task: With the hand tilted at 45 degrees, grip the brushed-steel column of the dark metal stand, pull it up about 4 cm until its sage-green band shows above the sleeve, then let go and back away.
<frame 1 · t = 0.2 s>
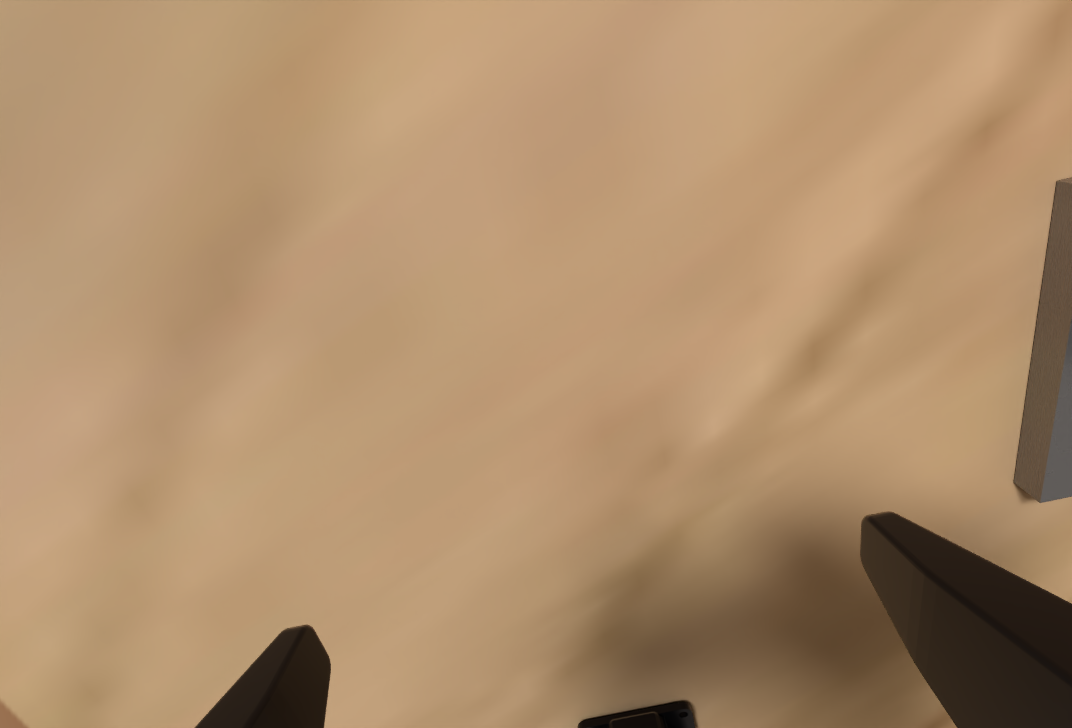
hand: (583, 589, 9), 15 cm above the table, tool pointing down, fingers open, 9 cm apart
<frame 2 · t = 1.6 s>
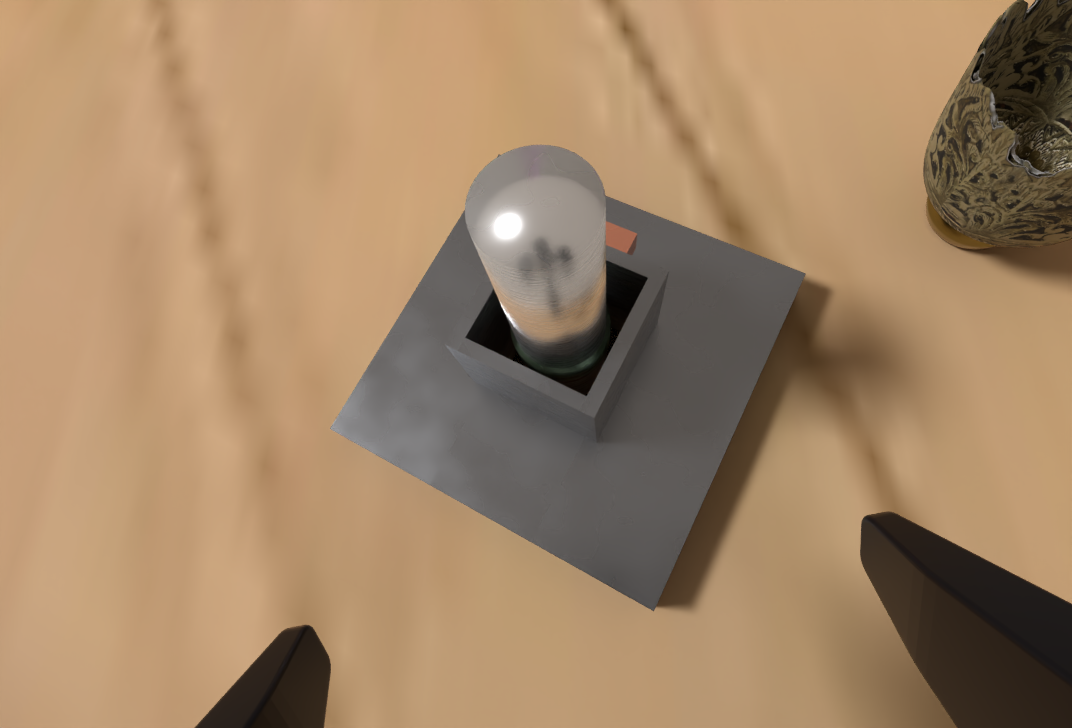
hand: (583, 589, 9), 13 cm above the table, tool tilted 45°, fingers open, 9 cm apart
cup: (962, 219, 25), on the table
stand: (568, 363, 25), on the table
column: (556, 305, 19), point 6 cm above the table, slide at 0.0 cm
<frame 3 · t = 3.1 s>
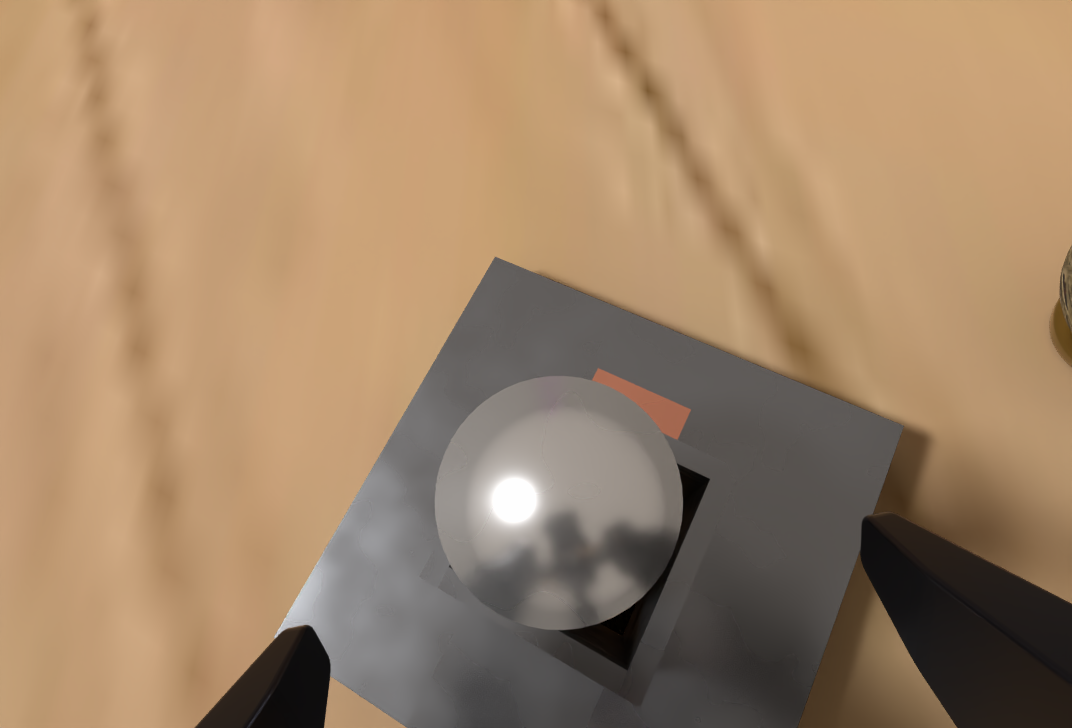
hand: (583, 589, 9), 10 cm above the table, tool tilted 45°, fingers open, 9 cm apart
stand: (588, 534, 19), on the table
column: (578, 522, 13), point 6 cm above the table, slide at 0.0 cm
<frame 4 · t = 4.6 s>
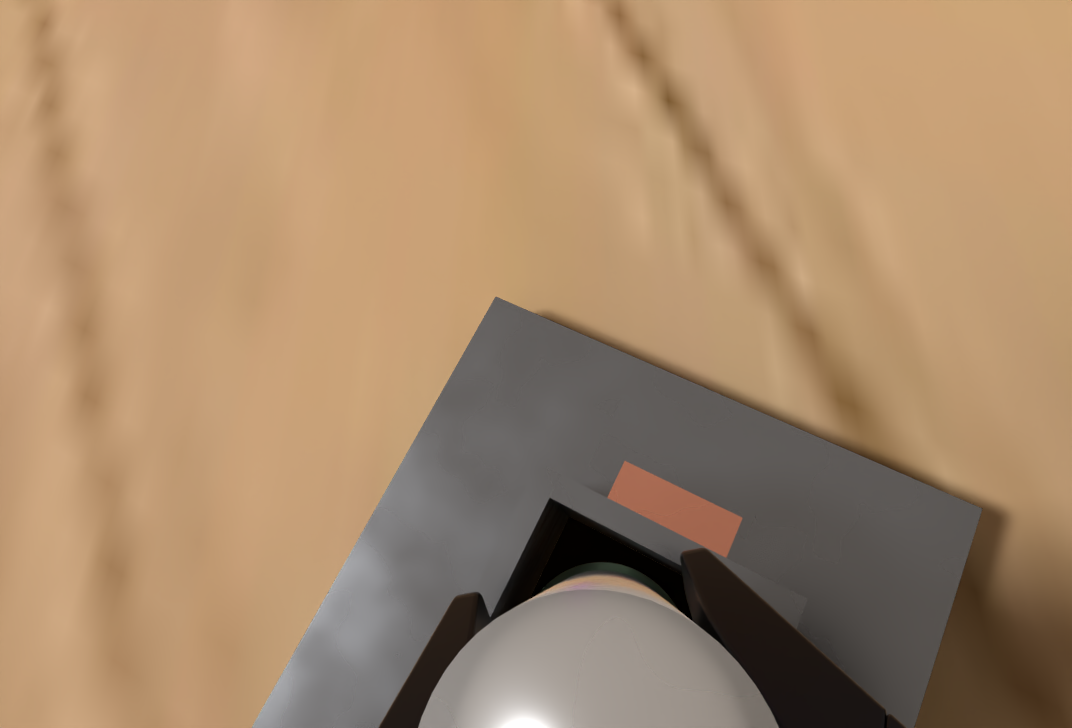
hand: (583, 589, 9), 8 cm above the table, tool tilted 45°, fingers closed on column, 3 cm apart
stand: (605, 627, 16), on the table
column: (603, 668, 10), point 6 cm above the table, slide at 0.0 cm, touching gripper
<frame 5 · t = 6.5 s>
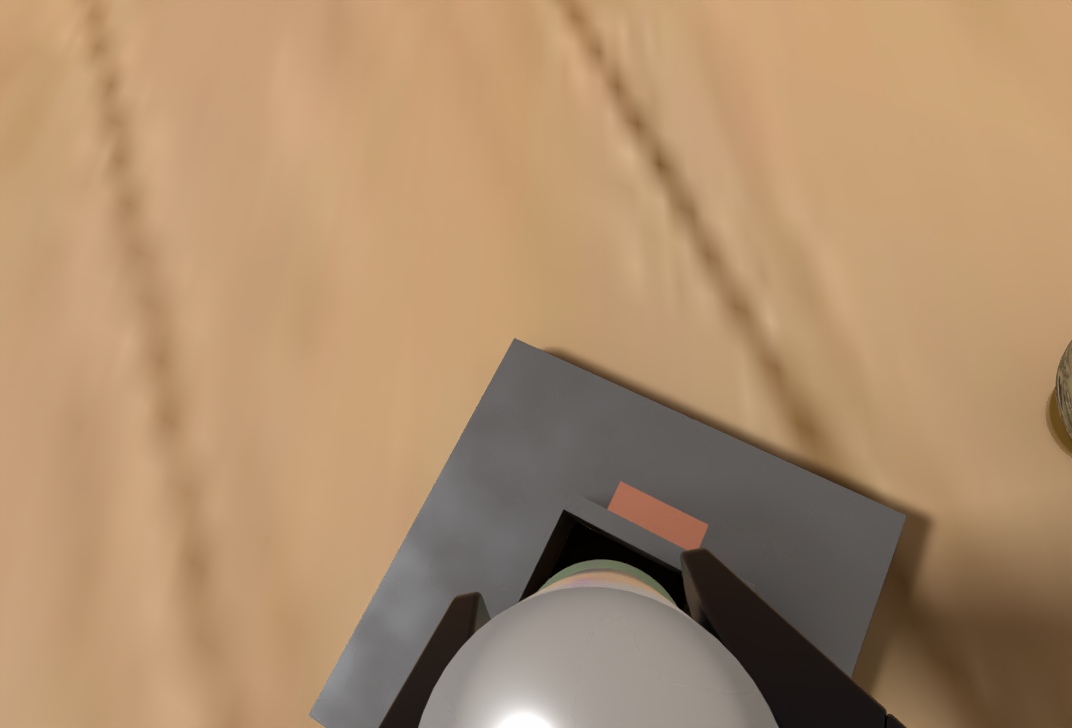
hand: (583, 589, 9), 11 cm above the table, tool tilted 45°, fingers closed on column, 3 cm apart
stand: (605, 611, 20), on the table
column: (602, 665, 10), point 10 cm above the table, slide at 3.8 cm, touching gripper
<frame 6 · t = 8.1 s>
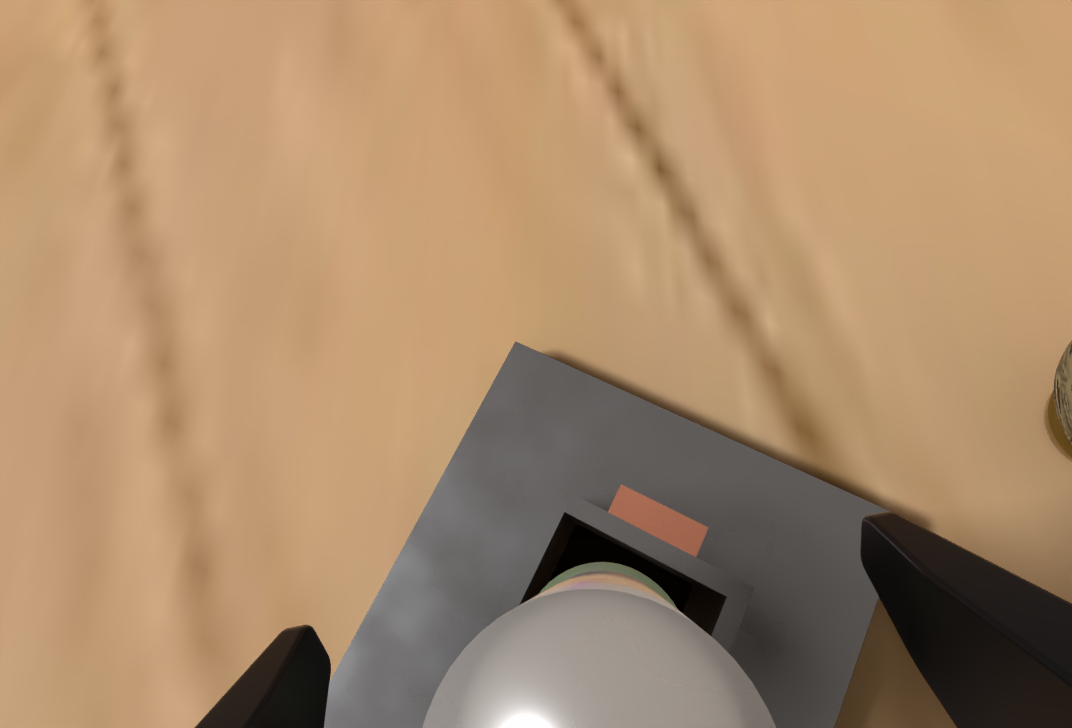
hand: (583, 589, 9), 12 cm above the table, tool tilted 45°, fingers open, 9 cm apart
stand: (606, 613, 20), on the table
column: (603, 666, 10), point 10 cm above the table, slide at 3.8 cm
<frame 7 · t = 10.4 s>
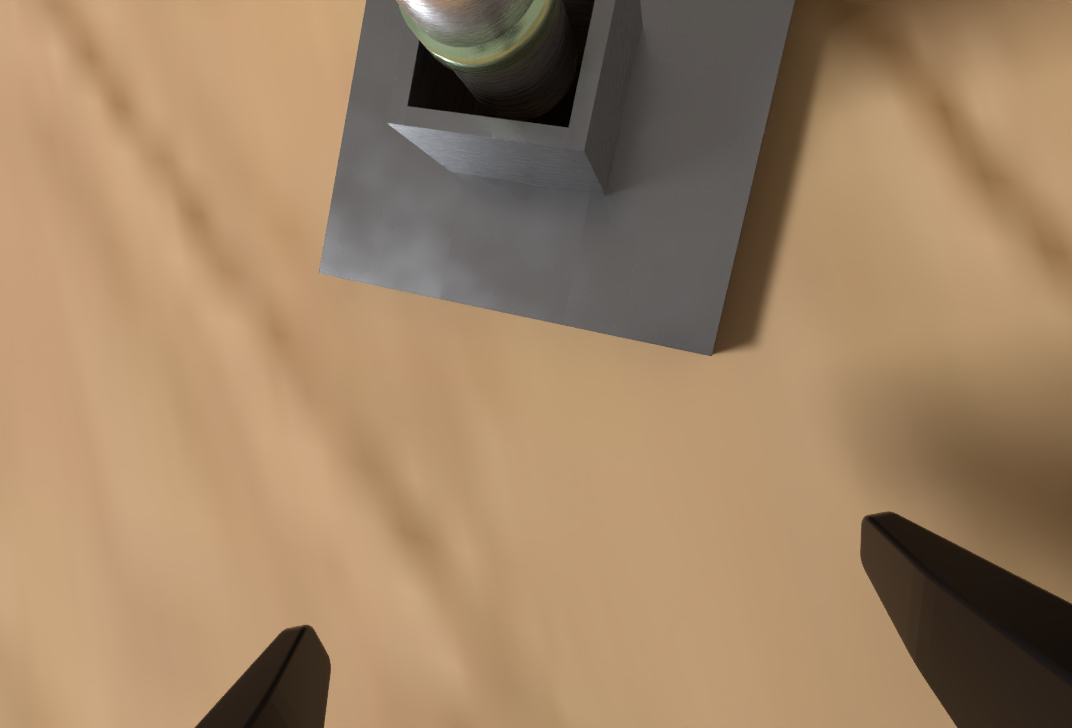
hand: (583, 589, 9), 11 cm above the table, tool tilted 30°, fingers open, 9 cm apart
stand: (551, 117, 21), on the table
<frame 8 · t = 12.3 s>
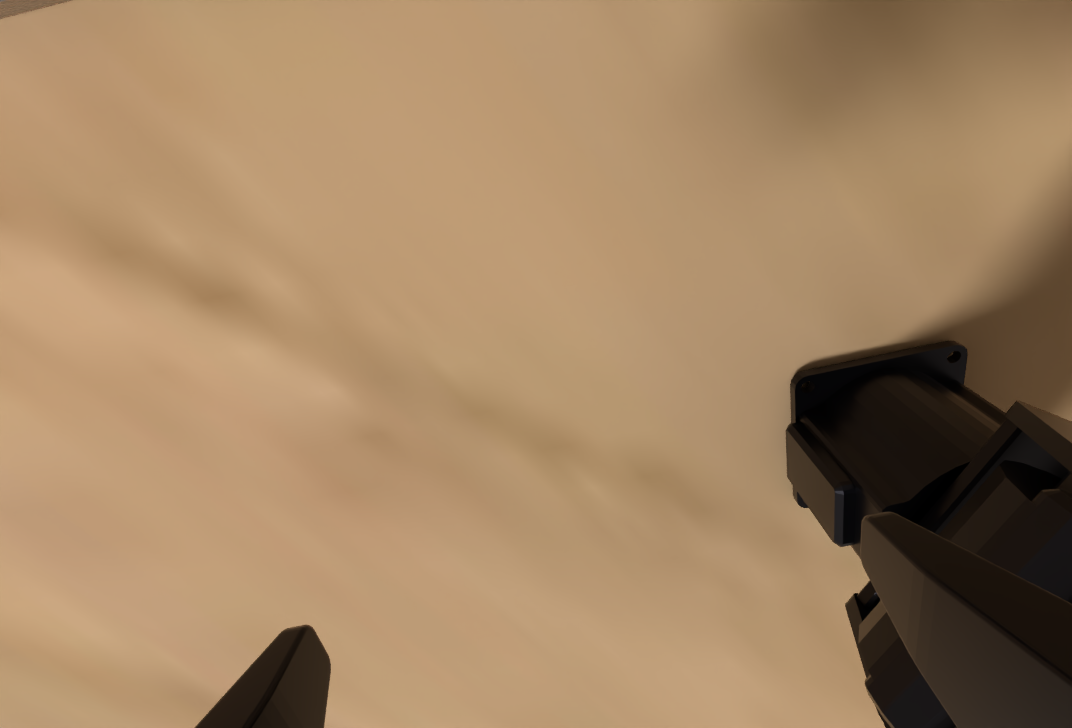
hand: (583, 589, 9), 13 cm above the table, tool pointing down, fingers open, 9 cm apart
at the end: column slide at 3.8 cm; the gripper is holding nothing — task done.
